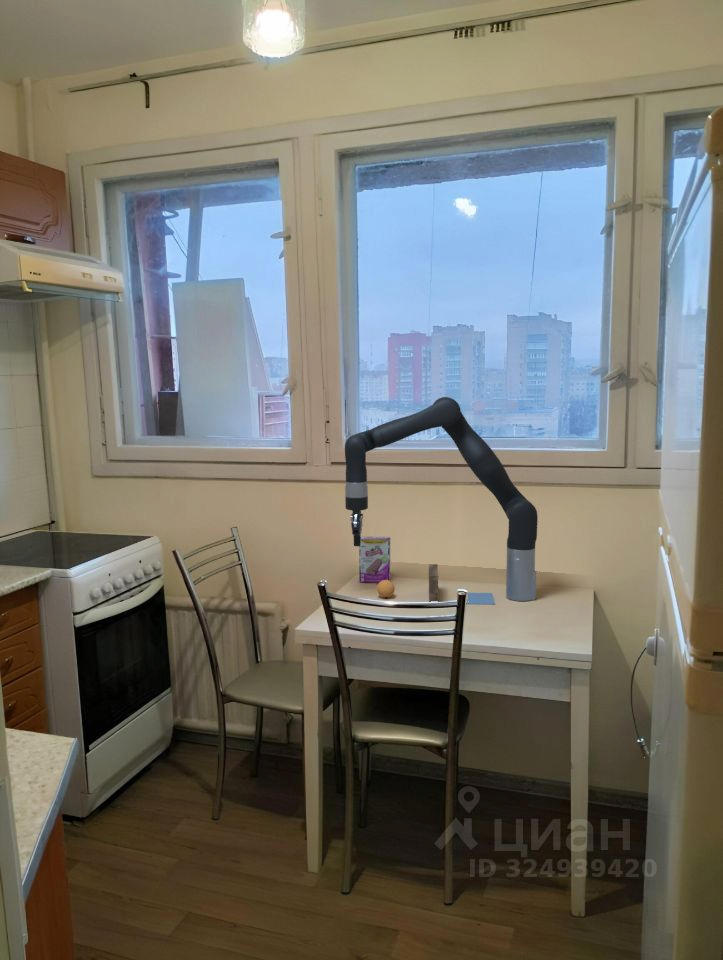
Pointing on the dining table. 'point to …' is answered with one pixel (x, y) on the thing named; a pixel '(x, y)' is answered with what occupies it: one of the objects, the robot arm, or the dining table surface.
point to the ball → (385, 588)
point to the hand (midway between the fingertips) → (357, 545)
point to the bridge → (433, 582)
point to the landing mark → (480, 598)
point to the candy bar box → (374, 559)
